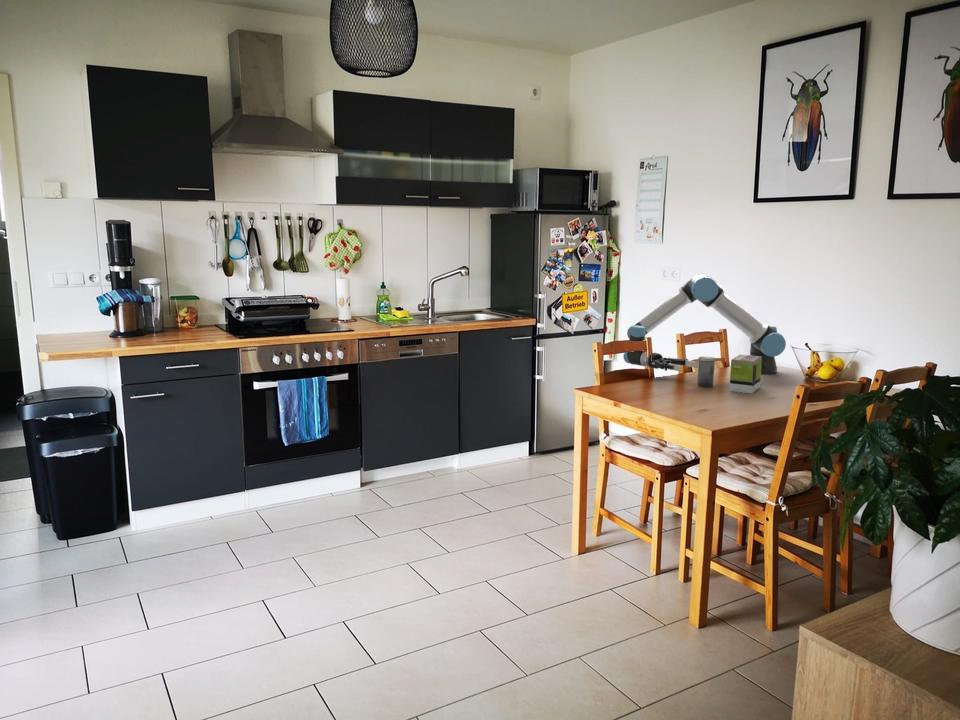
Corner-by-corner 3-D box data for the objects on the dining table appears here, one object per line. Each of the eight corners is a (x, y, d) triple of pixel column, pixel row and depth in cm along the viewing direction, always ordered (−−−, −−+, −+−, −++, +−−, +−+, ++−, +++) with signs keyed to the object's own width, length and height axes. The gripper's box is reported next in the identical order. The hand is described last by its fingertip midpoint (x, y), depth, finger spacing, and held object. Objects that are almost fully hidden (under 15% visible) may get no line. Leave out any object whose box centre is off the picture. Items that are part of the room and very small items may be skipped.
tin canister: (704, 383, 334) (706, 356, 332) (716, 386, 328) (718, 358, 326) (693, 385, 331) (695, 357, 328) (705, 388, 325) (707, 359, 322)
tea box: (737, 385, 331) (740, 353, 328) (760, 388, 326) (763, 356, 323) (728, 391, 319) (731, 358, 316) (752, 394, 313) (754, 361, 311)
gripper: (667, 364, 359) (704, 371, 343) (635, 370, 344) (672, 377, 328) (668, 350, 358) (705, 356, 342) (636, 355, 342) (673, 361, 326)
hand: (689, 366), depth 335 cm, fingers open, 13 cm apart
